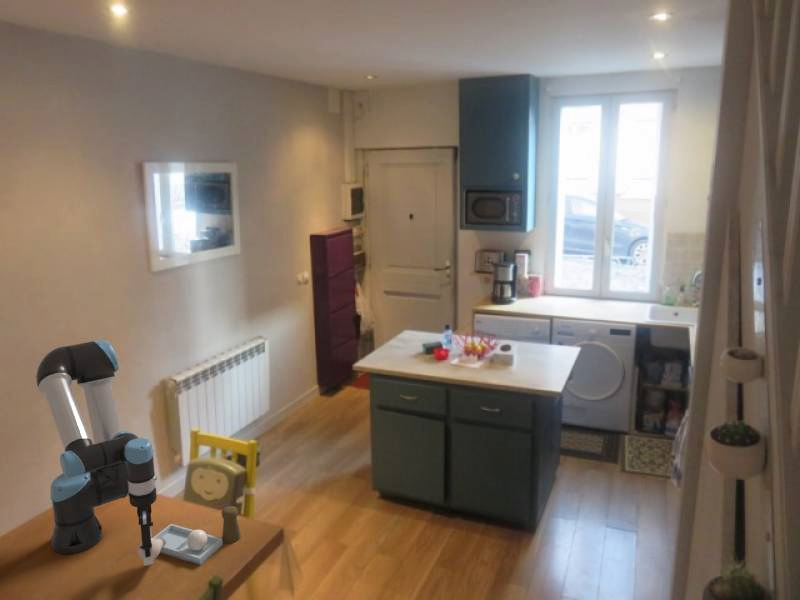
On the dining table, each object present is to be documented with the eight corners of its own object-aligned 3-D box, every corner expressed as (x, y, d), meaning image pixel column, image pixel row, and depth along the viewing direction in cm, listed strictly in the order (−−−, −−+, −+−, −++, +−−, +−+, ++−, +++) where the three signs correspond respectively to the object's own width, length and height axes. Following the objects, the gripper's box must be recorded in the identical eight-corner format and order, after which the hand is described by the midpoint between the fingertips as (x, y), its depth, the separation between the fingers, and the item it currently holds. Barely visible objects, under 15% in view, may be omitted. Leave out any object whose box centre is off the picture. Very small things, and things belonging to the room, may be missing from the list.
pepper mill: (235, 544, 204) (233, 514, 202) (218, 542, 206) (216, 512, 203) (243, 533, 210) (242, 504, 208) (227, 531, 211) (225, 502, 209)
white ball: (183, 552, 199) (181, 534, 198) (196, 540, 205) (195, 523, 203) (199, 557, 197) (197, 539, 195) (212, 545, 202) (211, 528, 201)
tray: (147, 548, 202) (147, 541, 201) (171, 530, 212) (171, 523, 211) (200, 565, 194) (199, 558, 193) (222, 545, 204) (222, 538, 203)
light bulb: (157, 527, 198) (136, 539, 187) (175, 534, 197) (155, 546, 186) (151, 547, 198) (130, 560, 188) (169, 554, 197) (149, 567, 186)
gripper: (157, 505, 178) (162, 573, 183) (154, 470, 196) (160, 532, 202) (128, 511, 175) (135, 580, 181) (128, 474, 193) (135, 537, 199)
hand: (148, 555), depth 191 cm, fingers closed on light bulb, 8 cm apart
